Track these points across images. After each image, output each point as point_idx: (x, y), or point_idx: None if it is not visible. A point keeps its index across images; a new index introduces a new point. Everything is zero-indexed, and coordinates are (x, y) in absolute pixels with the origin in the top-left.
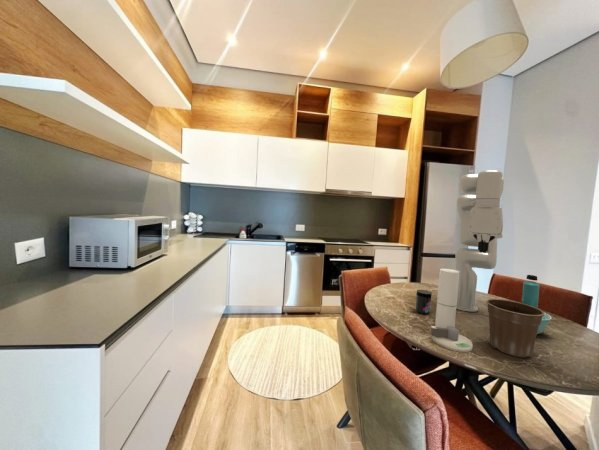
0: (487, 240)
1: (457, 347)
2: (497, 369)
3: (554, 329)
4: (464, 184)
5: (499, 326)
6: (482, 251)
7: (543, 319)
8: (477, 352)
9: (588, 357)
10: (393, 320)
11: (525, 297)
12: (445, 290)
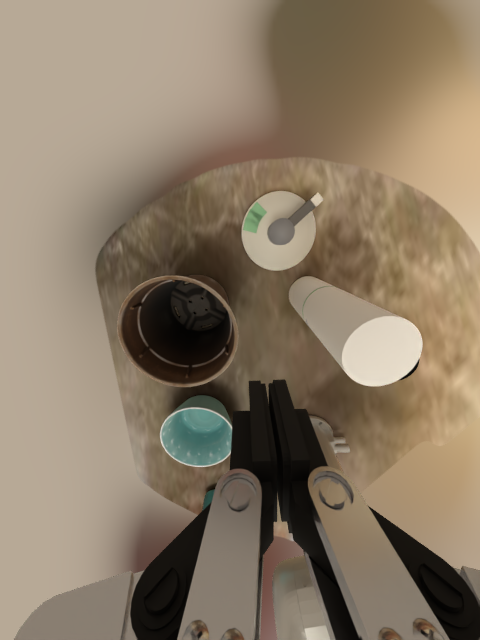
0: (232, 501)
1: (259, 198)
2: (191, 193)
3: None
4: None
5: (202, 281)
6: (263, 385)
7: (177, 442)
8: (231, 234)
9: (121, 376)
10: (407, 229)
11: None
12: (345, 295)
